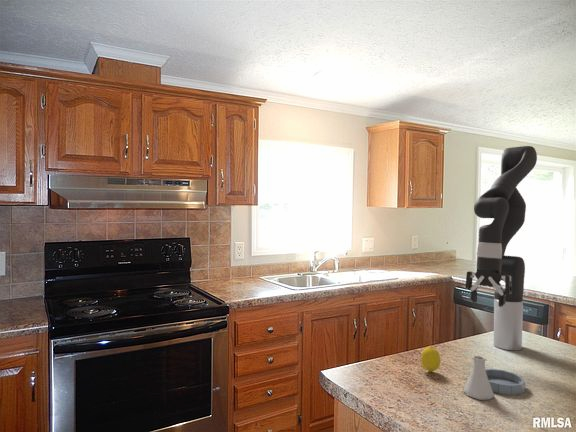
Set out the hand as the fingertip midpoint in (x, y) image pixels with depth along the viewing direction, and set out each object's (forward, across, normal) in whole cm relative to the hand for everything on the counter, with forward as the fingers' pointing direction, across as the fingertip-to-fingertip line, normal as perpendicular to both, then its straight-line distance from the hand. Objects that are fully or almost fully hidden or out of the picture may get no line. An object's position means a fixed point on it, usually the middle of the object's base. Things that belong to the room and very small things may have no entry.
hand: (487, 304), depth 138 cm
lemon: (+20, +6, +25) cm, 33 cm away
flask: (+20, -10, +30) cm, 37 cm away
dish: (+19, -12, +19) cm, 30 cm away
